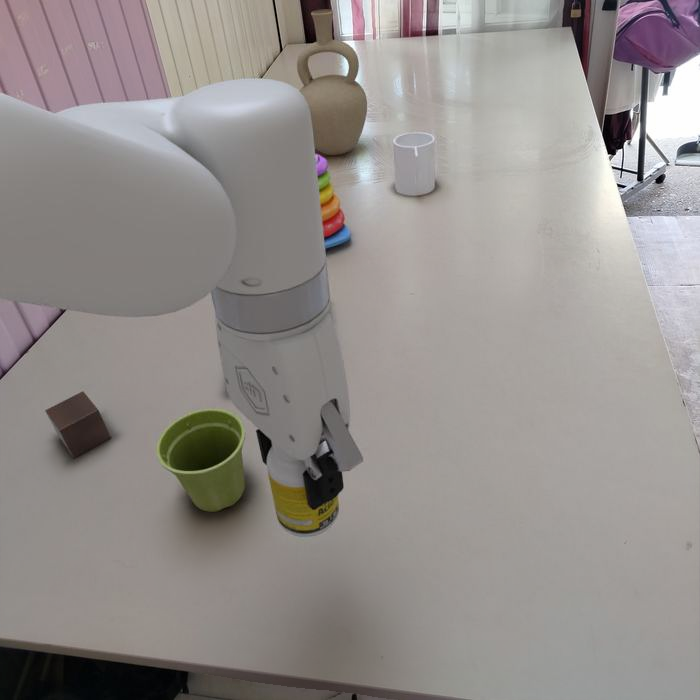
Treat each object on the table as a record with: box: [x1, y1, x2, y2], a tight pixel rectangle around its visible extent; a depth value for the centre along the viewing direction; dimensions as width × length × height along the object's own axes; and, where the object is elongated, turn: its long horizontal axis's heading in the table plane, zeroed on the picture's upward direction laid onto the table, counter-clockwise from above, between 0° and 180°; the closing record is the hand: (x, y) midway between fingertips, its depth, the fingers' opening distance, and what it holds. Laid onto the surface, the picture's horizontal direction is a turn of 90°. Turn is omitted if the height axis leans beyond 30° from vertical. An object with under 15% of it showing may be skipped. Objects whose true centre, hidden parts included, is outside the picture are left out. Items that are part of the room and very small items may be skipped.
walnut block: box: [44, 390, 112, 459], centre depth 80 cm, size 5×5×5 cm
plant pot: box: [156, 408, 246, 513], centre depth 70 cm, size 9×9×9 cm
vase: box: [296, 8, 368, 157], centre depth 143 cm, size 17×17×30 cm
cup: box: [392, 131, 436, 197], centre depth 127 cm, size 8×12×10 cm
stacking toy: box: [315, 153, 351, 250], centre depth 111 cm, size 14×13×23 cm
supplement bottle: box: [266, 440, 340, 538], centre depth 52 cm, size 5×5×10 cm
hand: (302, 475), depth 52 cm, fingers closed on supplement bottle, 5 cm apart
